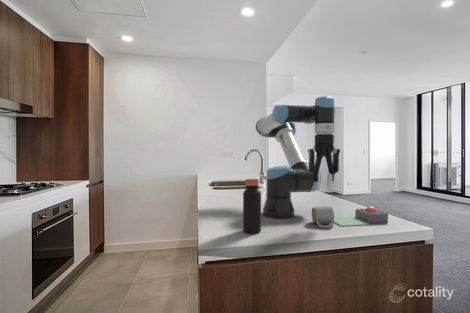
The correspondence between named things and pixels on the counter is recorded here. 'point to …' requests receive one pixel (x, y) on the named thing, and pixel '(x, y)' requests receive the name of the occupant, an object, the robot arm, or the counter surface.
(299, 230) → the counter surface
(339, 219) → the sage square
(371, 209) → the red dome
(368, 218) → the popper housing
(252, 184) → the bottle
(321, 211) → the ceramic mug
